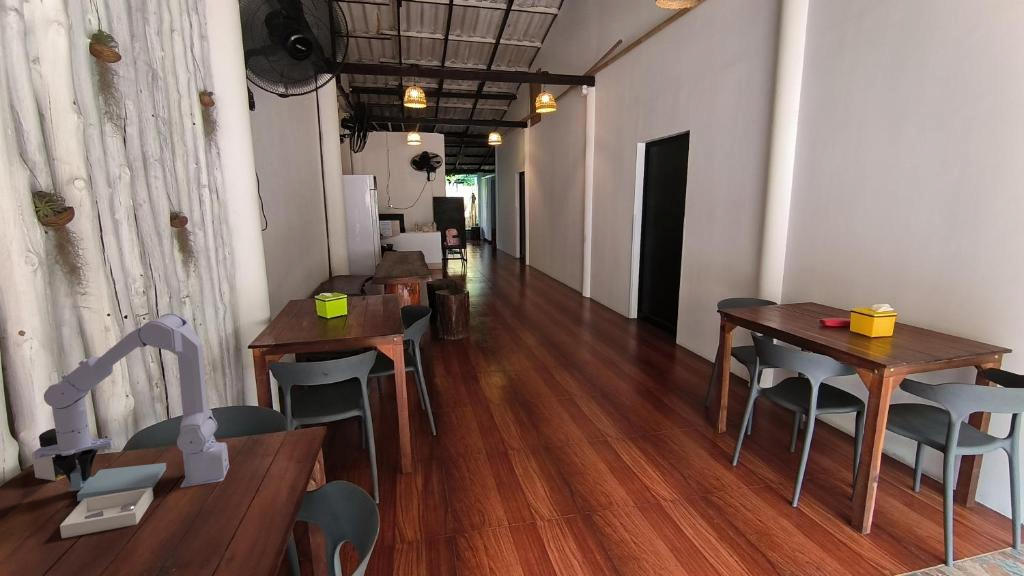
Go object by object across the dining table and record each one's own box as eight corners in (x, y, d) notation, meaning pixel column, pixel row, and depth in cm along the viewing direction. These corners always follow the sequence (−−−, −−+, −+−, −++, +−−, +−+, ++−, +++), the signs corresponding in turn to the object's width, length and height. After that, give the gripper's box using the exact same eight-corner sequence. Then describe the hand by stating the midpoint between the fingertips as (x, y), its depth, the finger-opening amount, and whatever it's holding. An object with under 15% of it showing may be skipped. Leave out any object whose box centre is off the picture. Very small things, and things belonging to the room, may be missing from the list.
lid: (166, 469, 123) (165, 450, 123) (150, 492, 113) (149, 472, 112) (85, 477, 117) (84, 458, 116) (61, 503, 107) (59, 482, 106)
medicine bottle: (56, 481, 118) (49, 438, 116) (34, 478, 119) (27, 435, 117) (86, 466, 125) (80, 425, 123) (66, 463, 126) (59, 423, 124)
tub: (153, 500, 110) (152, 487, 110) (137, 526, 101) (135, 512, 101) (86, 512, 106) (84, 498, 105) (62, 540, 97) (59, 525, 96)
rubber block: (103, 517, 103) (102, 510, 103) (103, 521, 102) (102, 515, 102) (85, 522, 101) (84, 516, 101) (85, 527, 100) (84, 520, 100)
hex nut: (138, 506, 107) (138, 501, 107) (133, 513, 105) (133, 508, 104) (123, 509, 106) (123, 504, 106) (118, 516, 104) (118, 511, 103)
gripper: (22, 440, 104) (31, 495, 106) (102, 430, 109) (109, 482, 111) (41, 427, 110) (49, 478, 112) (115, 418, 115) (122, 467, 117)
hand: (80, 479), depth 112 cm, fingers closed on lid
